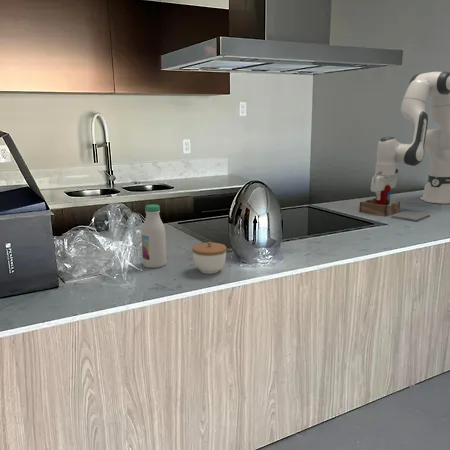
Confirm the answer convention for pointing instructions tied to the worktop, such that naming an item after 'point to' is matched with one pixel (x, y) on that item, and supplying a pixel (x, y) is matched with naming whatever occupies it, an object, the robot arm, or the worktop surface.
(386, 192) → the beverage can
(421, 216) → the rubber mat
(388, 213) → the wooden tray
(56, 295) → the worktop surface
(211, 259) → the lidded jar
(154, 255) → the milk bottle
